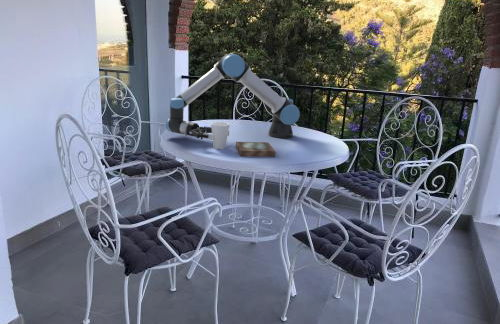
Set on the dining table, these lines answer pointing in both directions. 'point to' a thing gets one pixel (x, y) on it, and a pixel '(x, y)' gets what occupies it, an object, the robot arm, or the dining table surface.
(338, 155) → the dining table surface
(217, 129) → the foam cup
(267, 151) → the walnut base
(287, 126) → the robot arm
